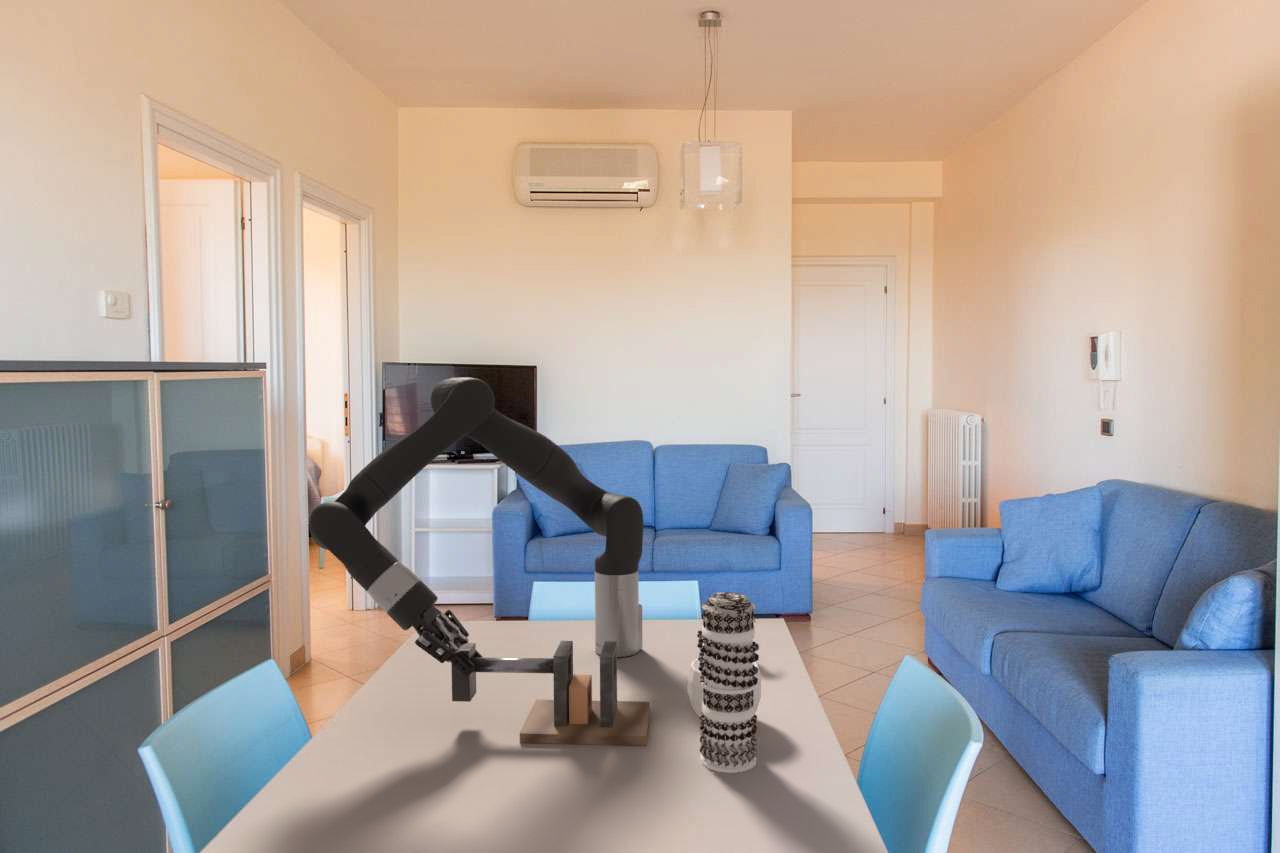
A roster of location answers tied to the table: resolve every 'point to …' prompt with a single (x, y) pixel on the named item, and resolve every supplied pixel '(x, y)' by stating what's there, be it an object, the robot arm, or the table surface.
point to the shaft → (491, 670)
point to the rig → (607, 716)
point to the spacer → (580, 699)
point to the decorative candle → (728, 683)
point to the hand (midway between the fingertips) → (475, 667)
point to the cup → (697, 690)
